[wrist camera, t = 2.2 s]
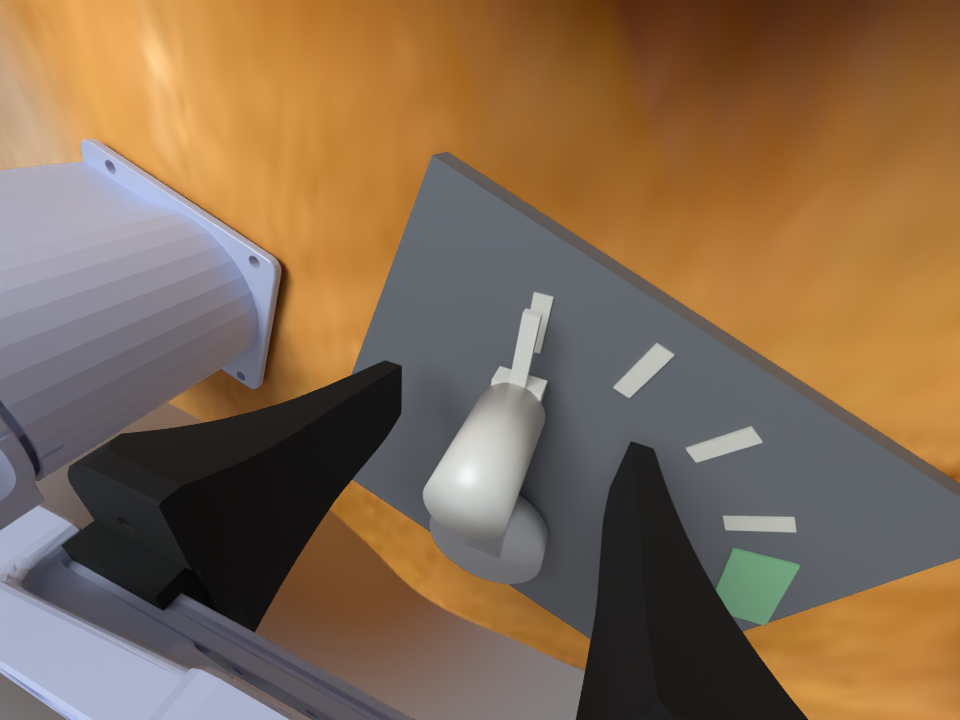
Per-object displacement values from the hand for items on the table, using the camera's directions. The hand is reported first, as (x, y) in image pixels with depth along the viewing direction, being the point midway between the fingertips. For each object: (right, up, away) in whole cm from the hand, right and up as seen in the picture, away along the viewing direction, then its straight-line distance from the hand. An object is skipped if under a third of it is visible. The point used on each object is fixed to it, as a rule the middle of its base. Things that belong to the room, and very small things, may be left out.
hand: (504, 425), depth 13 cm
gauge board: (+3, -2, +4) cm, 6 cm away
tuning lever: (0, -2, +3) cm, 4 cm away
